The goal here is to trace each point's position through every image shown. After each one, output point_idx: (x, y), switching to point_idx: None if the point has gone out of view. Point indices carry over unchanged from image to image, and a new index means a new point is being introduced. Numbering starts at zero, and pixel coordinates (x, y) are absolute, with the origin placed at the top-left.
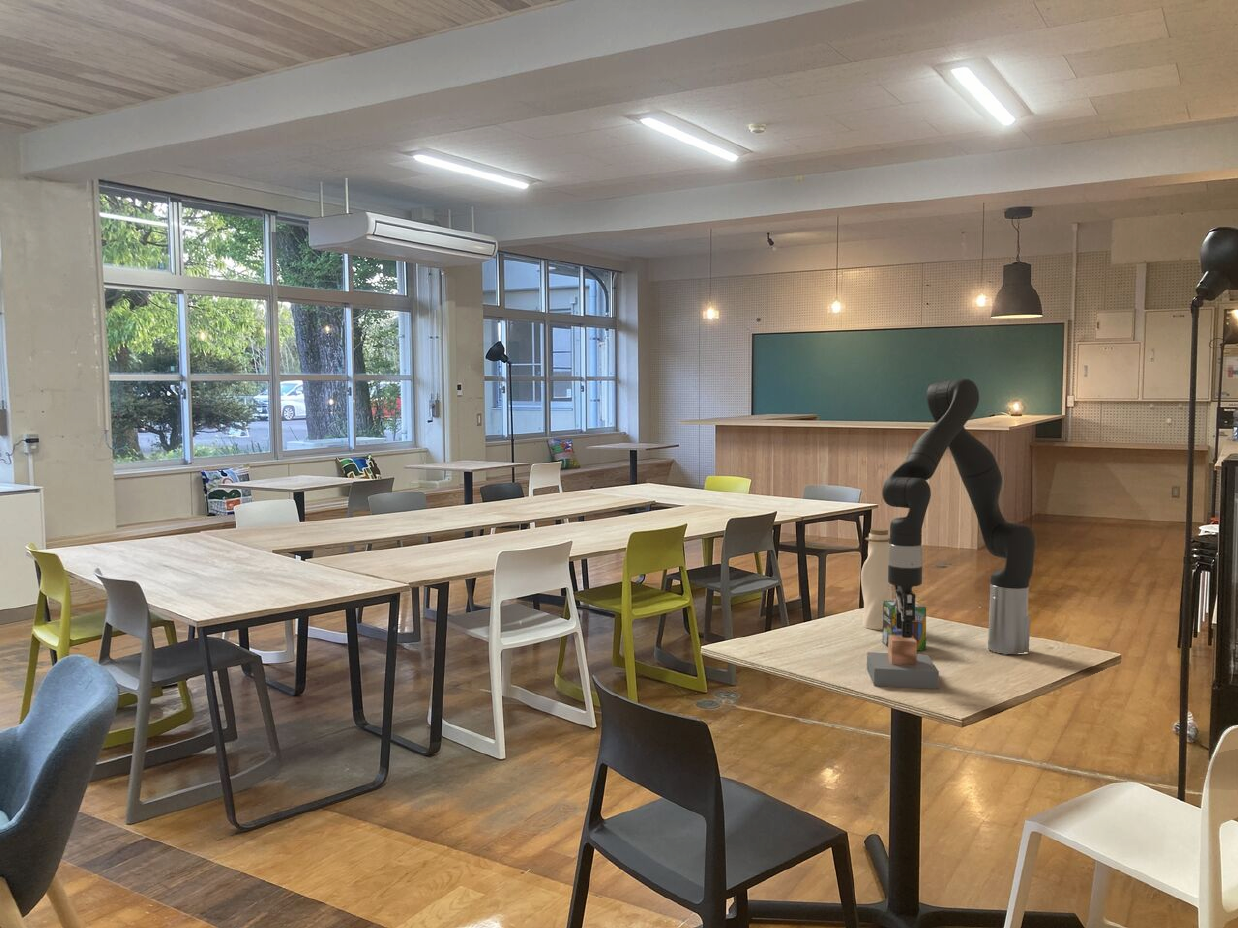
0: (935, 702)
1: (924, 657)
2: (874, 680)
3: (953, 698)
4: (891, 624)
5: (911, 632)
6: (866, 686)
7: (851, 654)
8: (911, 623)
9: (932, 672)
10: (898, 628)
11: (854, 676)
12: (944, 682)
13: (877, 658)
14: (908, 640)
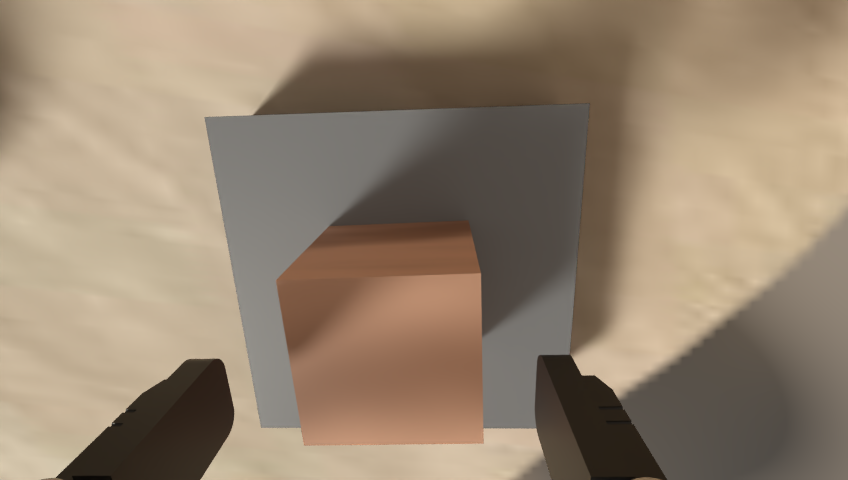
0: (778, 152)
1: (274, 146)
2: None
3: (714, 49)
4: None
5: (584, 386)
6: None
7: (90, 410)
8: (623, 467)
9: (583, 141)
10: (231, 408)
11: None
12: (433, 51)
13: None
14: (453, 333)
